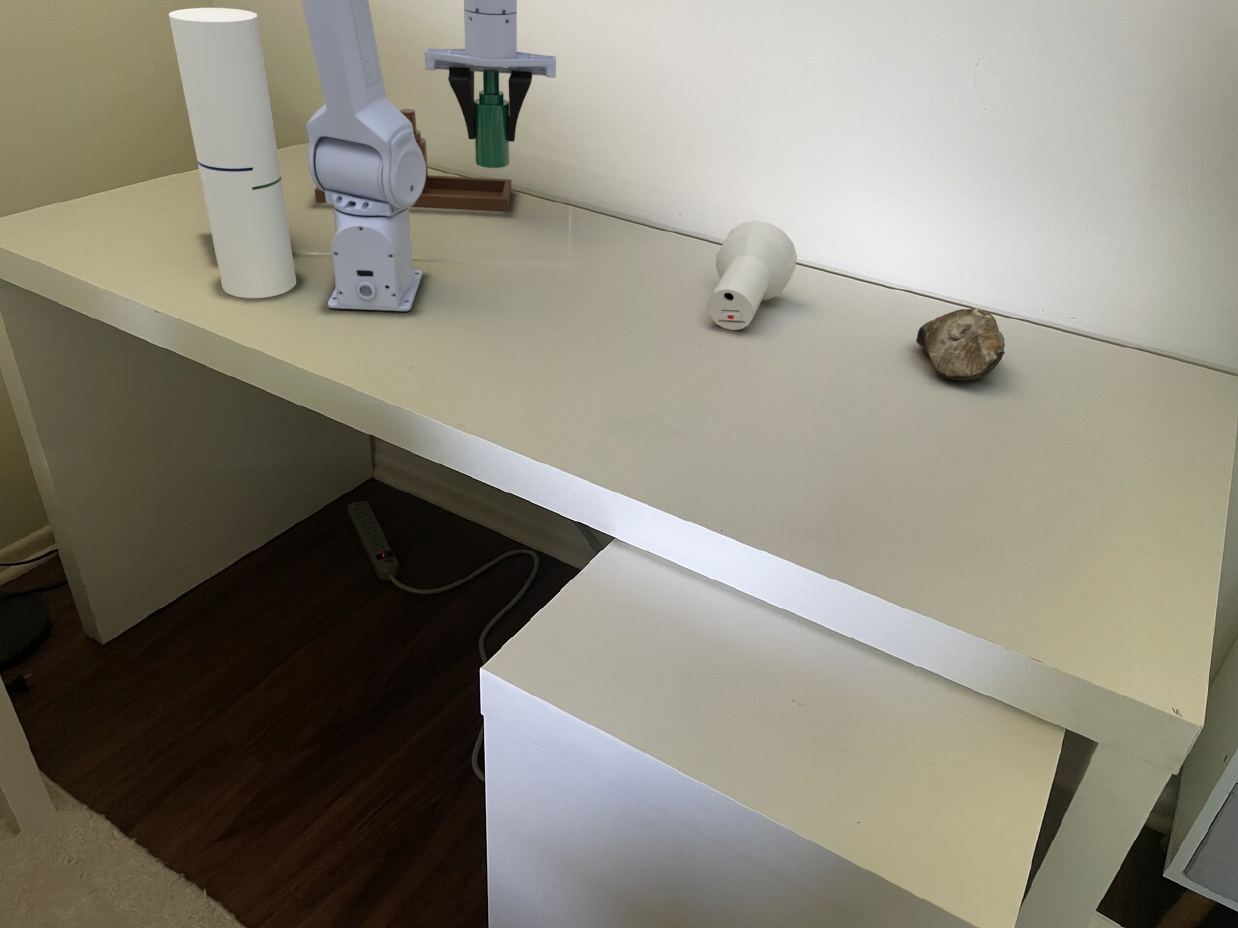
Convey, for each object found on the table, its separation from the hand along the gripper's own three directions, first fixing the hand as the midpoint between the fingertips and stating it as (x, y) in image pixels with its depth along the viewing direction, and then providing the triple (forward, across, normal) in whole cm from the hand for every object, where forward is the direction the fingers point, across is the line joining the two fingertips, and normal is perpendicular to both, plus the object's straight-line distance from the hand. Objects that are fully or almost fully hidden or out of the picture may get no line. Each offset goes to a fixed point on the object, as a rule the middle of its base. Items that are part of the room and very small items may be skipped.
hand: (492, 138), depth 107 cm
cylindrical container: (+10, +22, +22) cm, 33 cm away
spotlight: (+10, -28, +23) cm, 37 cm away
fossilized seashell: (+10, -47, +34) cm, 59 cm away
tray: (+10, +10, -6) cm, 16 cm away
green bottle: (+3, 0, 0) cm, 3 cm away
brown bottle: (+10, +11, -6) cm, 16 cm away
